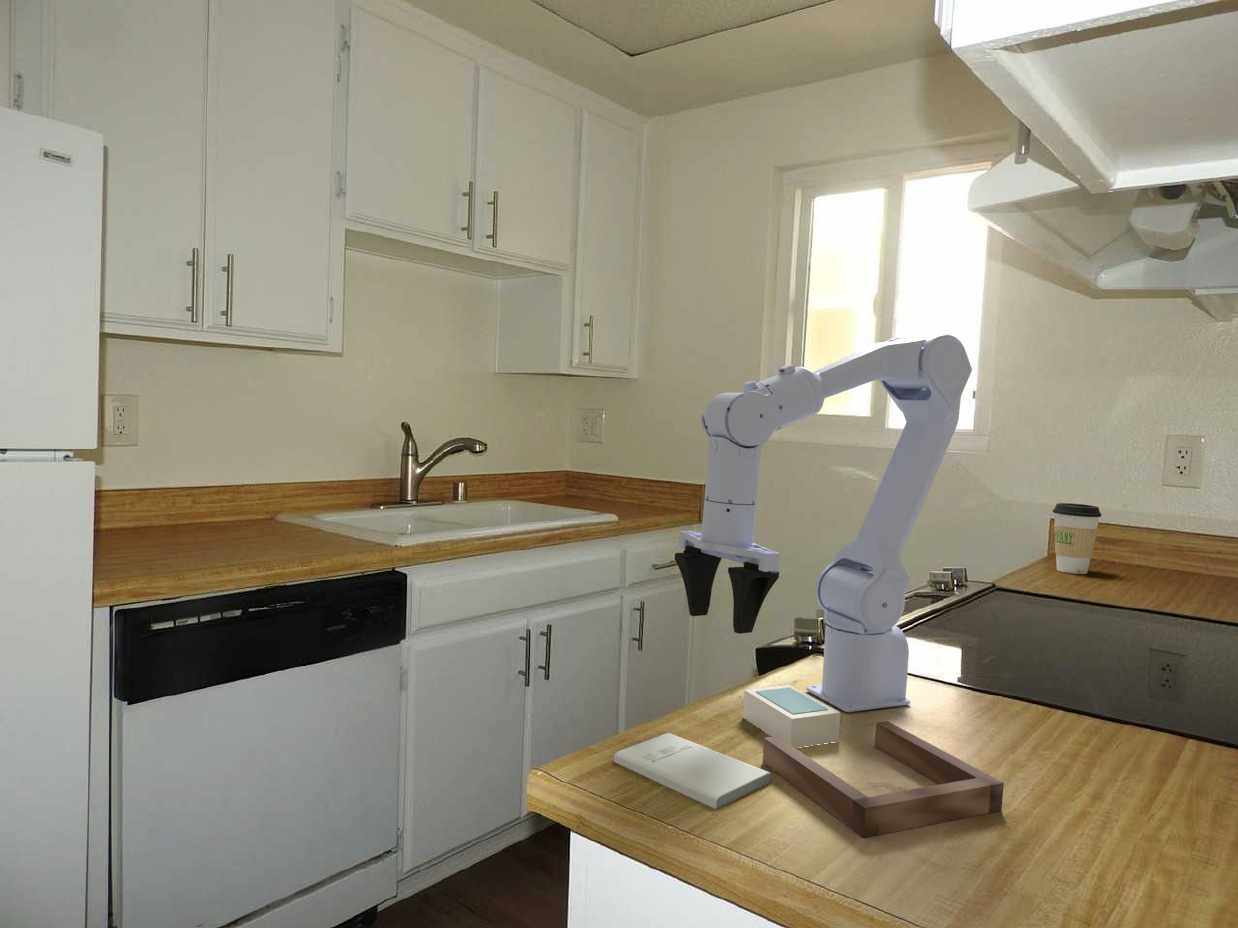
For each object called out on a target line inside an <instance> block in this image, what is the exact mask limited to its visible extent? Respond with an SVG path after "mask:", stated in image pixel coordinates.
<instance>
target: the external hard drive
mask: <svg viewBox="0 0 1238 928" xmlns="http://www.w3.org/2000/svg"><path fill="white" fill-rule="evenodd" d="M613 757H614V758H613V762H614V763H615V764H618V765H620V766H622V767H624V768H626V769H629V770H630V771H633V772H635V773H637V774H639V775H641V776H644V777H646V778H648V779H650V780H652V781H654V782H657V783H658V784H661V785H662V786H665V787H667V788H670V789H672V790H673V791H676V792H678V793H680V794H682V795H685V796H687V797H689V798H691V799H693V800H695V801H697V802H700V803H702V804H704V805H706V806H709V807H710V808H712V809H715V810H717V809H718V808H721V807H723V806H725V805H726V804H727V805H728V804H729V803H732V802H733V801H735V800H738V799H739V798H741V797H744V796H745V795H746V796H747V794H750V793H752V792H753V790H754V791H756V790H757V788H758V789H760V788H762V787H764V786H766V785H768V784H770V783H772V773H771V772H769V771H767V770H765V769H762V768H759V767H757V766H754V765H752V764H750V763H746V762H744V761H741V760H738V759H737V758H735V757H731V756H729V755H726V754H723V753H721V752H719V751H716V750H714V749H711V748H709V747H706V746H703V745H701V744H698V743H695V742H694V741H691V740H689V739H685V738H683V737H680V736H678V735H675V734H672V733H669V732H667V733H664V734H661V735H658V736H655V737H653V738H650V739H648V740H645V741H642V742H640V743H638V744H637V743H636V744H634V745H631V746H628V747H626V748H624V749H621V750H618V751H617V752H615V754H614V755H613ZM769 782H770V783H769ZM767 783H768V784H767ZM765 784H766V785H765ZM763 785H764V786H763ZM761 786H762V787H761ZM759 787H760V788H759ZM755 789H756V790H755ZM751 791H752V792H751Z"/></svg>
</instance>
